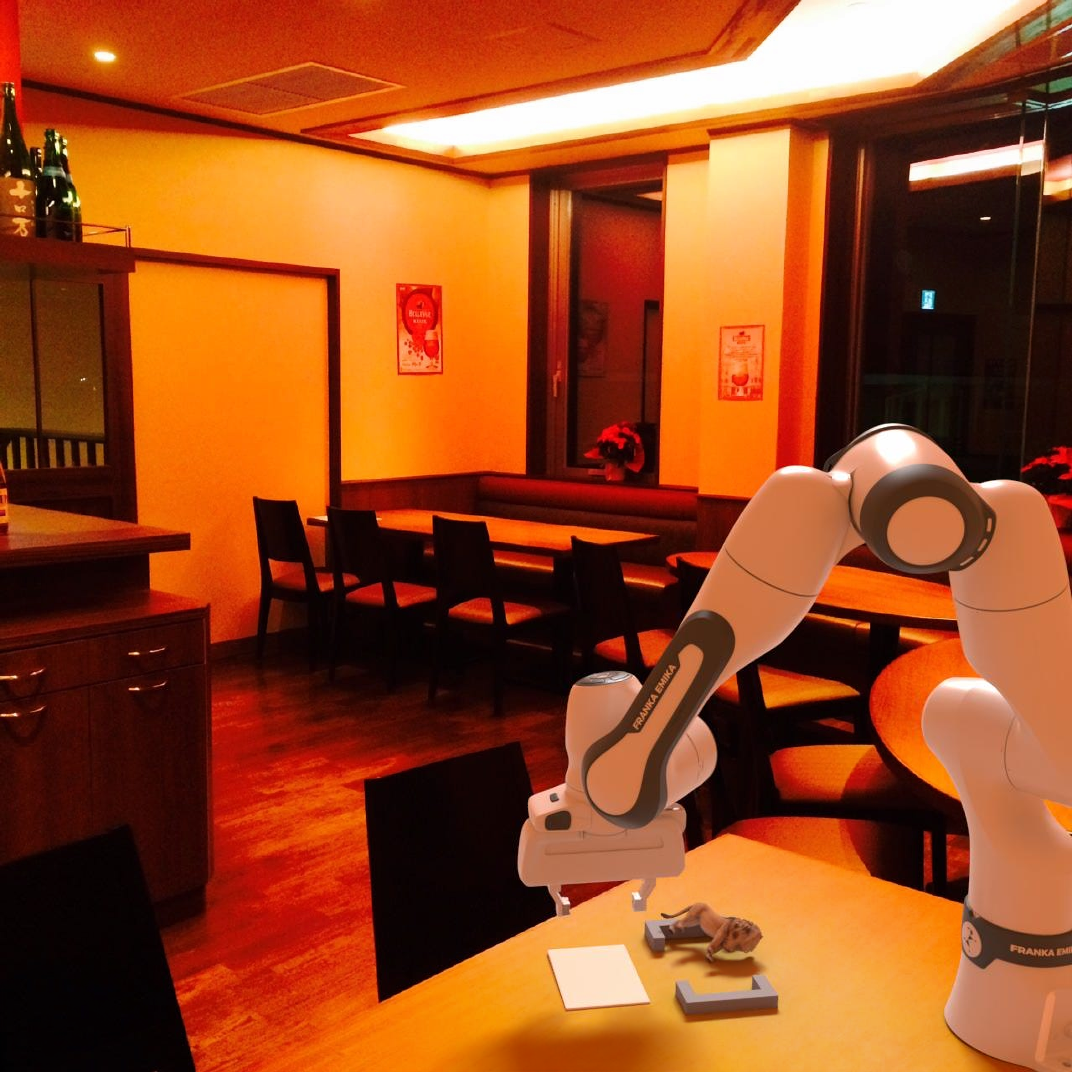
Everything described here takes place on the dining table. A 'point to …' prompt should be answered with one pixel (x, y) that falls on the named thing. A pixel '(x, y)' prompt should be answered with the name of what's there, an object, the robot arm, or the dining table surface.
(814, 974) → the dining table surface
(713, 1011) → the grey bracket pair
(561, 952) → the ceramic tile
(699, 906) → the lion figurine
